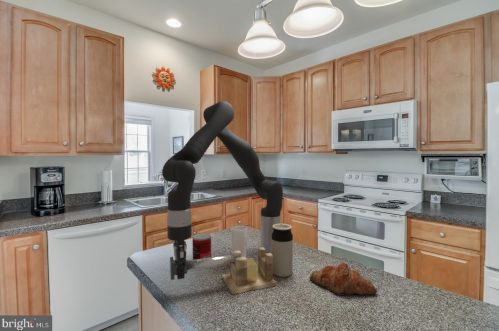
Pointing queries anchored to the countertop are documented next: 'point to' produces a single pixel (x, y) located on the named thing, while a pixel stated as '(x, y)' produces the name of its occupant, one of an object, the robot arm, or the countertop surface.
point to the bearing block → (238, 273)
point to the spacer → (251, 270)
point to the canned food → (201, 246)
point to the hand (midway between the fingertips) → (180, 275)
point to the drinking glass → (239, 239)
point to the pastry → (343, 280)
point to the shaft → (202, 263)
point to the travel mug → (282, 250)
